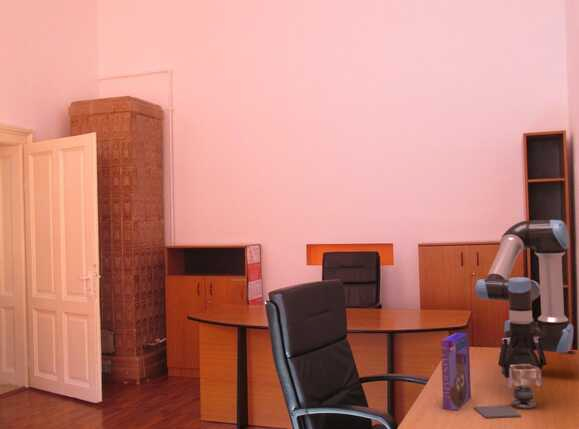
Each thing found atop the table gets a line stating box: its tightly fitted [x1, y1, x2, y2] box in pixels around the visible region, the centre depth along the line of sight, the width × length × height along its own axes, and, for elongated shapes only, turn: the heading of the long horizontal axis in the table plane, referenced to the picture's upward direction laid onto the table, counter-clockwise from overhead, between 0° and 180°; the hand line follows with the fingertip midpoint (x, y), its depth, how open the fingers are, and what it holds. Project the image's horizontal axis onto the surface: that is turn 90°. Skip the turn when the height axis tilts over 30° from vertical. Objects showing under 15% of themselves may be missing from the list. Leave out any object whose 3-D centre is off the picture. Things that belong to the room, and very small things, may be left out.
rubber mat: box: [473, 404, 522, 419], centre depth 206 cm, size 12×11×1 cm
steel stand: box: [511, 368, 537, 410], centre depth 212 cm, size 8×8×13 cm
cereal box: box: [440, 331, 472, 412], centre depth 217 cm, size 17×5×24 cm, turn 148°
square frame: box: [504, 364, 543, 387], centre depth 213 cm, size 9×9×5 cm
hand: (523, 386), depth 212 cm, fingers closed on square frame, 9 cm apart
